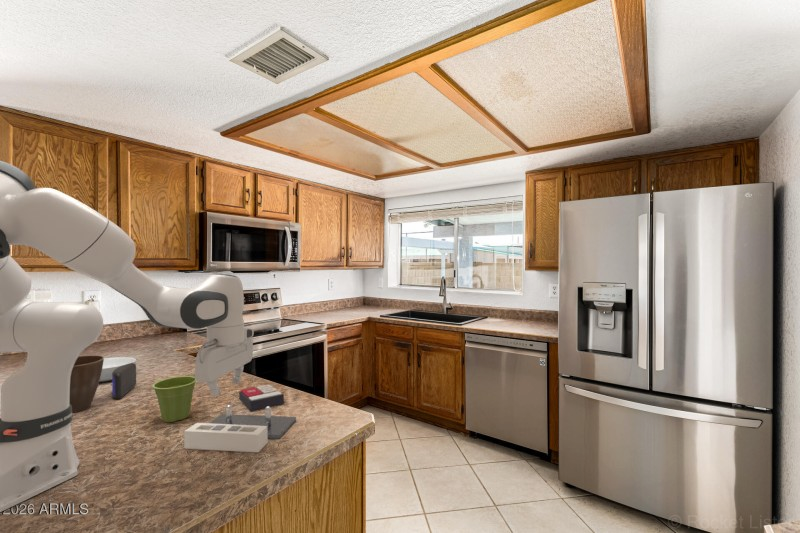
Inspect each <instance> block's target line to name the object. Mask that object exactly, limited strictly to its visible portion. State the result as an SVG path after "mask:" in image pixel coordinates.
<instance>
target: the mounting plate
mask: <svg viewBox="0 0 800 533" xmlns="http://www.w3.org/2000/svg"><path fill="white" fill-rule="evenodd" d="M264 411H265V412H264V415H257V414H256V415H254V414H233V406H232V404H228V405H226V406H225V413H221V414H220V415H217V417H215V418H214V419H212V420H210V421H209V422H208V423H212V424H234V425H256V426H267V434H268V439H271V440H272V439H273V440H274V439H276V440H279V439H280V438H281V437H282V436H283V435H284V434H285V433H286V432H287V431H288V430H289V429H290V428H291V427H292V426H293V424H294V423H295V422H296V421H297V416H281V415H280V416H279V415H277V416H276V415H272V407H270V406H267V407H266V408H265V409H264Z"/></svg>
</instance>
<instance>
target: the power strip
mask: <svg viewBox="0 0 800 533" xmlns="http://www.w3.org/2000/svg"><path fill="white" fill-rule="evenodd" d="M183 433H184V436H183V437H184V439H183V440H184V442H183V443H184V444H183V445H184V446H183V447H184V449H187V450H190V449H191V450H204V451H220V452H221V451H225V452H226V451H227V452H230V451H231V452H241V453H242V452H244V453H259V452H260V451H261V450H262V449H263V448H264V447H265V446H267V444H268V442H269V441H268V440H269V438H268V434H267V426H256V425H234V424H212V423H209V422H196V423H195V424H193V425H191V426H189V428H187V429H185V430H184V431H183Z"/></svg>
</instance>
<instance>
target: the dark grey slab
mask: <svg viewBox="0 0 800 533" xmlns="http://www.w3.org/2000/svg"><path fill="white" fill-rule="evenodd" d="M111 381H112V382H111V384H110V385H111V387H112V388H111V390H112V391H111V392H112V395H111V396H112V397H113V398H114V399H116V400H119V399H122V397H124V396H125V395H126V394H127V393H129V391H131V390H132V389H133V388H135V387H136V385H137V365H136V363H135V364H134V363H129V364H126V365H123V366H120V367H118V368H116V369H115V370H114V371H113V372H112V380H111Z"/></svg>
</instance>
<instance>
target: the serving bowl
mask: <svg viewBox="0 0 800 533" xmlns="http://www.w3.org/2000/svg"><path fill="white" fill-rule="evenodd" d="M129 363H134V364H136V363H137V359H136V358H134V357H130V356H129V357H127V356H123V357H122V356H120V357H119V356H117V357H104V361H103V367H102V372H101V376H100V380H99V383H105V382H109V381H112V372H113V371H114V370H115V369H116V368H118V367H120V366H123V365H126V364H129Z"/></svg>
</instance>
